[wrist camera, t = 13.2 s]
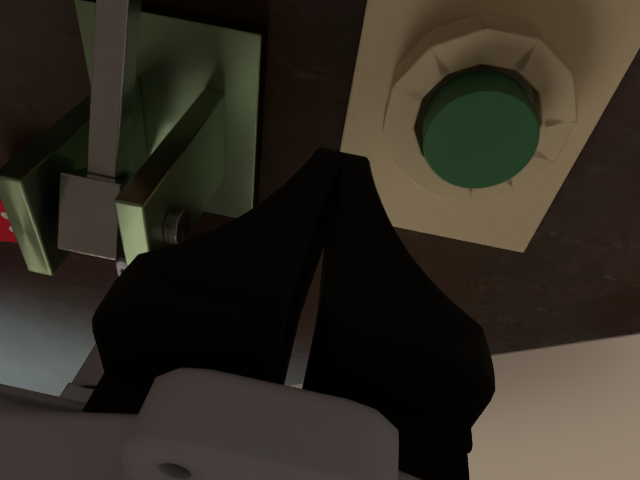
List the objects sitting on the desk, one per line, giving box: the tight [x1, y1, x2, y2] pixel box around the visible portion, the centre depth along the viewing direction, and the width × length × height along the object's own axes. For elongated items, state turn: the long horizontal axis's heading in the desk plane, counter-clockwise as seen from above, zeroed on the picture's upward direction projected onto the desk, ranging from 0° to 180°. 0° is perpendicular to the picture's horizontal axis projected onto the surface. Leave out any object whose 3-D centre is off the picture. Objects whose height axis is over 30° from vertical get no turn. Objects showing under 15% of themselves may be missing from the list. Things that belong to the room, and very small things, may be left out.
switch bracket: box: [0, 0, 268, 275], centre depth 20 cm, size 10×8×10 cm
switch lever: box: [57, 0, 141, 260], centre depth 17 cm, size 12×3×3 cm, turn 173°
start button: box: [423, 71, 540, 189], centre depth 18 cm, size 4×4×2 cm
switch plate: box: [340, 0, 640, 252], centre depth 20 cm, size 12×10×4 cm
